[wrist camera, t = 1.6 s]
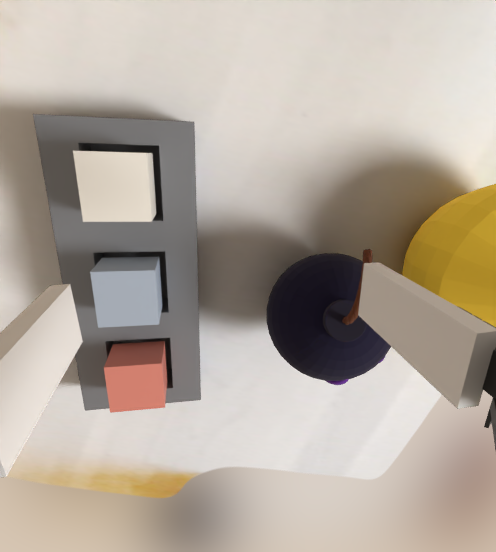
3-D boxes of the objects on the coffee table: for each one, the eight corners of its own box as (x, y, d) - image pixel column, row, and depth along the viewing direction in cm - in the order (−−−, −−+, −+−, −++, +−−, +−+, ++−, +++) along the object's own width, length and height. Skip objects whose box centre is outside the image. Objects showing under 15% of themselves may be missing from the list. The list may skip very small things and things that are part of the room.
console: (53, 119, 28) (33, 114, 25) (193, 125, 30) (194, 121, 27) (95, 385, 38) (85, 410, 34) (199, 377, 40) (200, 399, 36)
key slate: (102, 257, 30) (90, 272, 26) (159, 256, 31) (155, 270, 27) (108, 307, 31) (98, 327, 28) (162, 305, 32) (159, 324, 29)
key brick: (113, 344, 33) (103, 367, 29) (164, 341, 34) (161, 363, 30) (118, 385, 34) (110, 412, 31) (167, 381, 35) (164, 407, 32)
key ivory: (88, 151, 27) (72, 150, 23) (152, 153, 27) (146, 152, 24) (96, 213, 28) (82, 221, 25) (156, 213, 29) (151, 221, 26)
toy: (280, 349, 41) (327, 450, 27) (228, 257, 35) (254, 323, 22) (366, 304, 41) (458, 382, 27) (327, 204, 35) (417, 237, 21)
